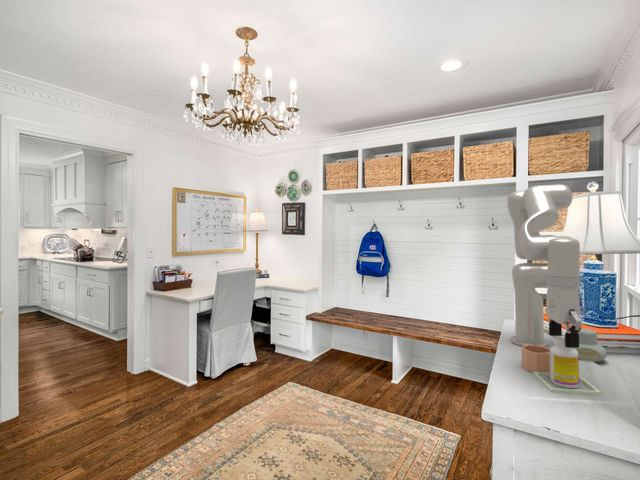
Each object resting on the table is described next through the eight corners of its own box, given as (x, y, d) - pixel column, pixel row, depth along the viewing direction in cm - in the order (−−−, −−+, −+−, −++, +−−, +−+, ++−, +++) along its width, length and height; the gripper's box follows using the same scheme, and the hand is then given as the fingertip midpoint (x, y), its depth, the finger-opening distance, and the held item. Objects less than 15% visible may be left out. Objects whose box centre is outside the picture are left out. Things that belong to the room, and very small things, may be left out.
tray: (533, 376, 106) (533, 371, 106) (577, 379, 103) (577, 373, 103) (550, 395, 94) (550, 389, 94) (601, 398, 91) (601, 392, 91)
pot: (517, 365, 115) (517, 344, 115) (546, 366, 113) (546, 345, 113) (527, 375, 107) (526, 352, 107) (559, 377, 105) (558, 354, 105)
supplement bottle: (584, 390, 95) (583, 343, 95) (557, 388, 96) (556, 342, 96) (571, 380, 101) (571, 336, 101) (546, 378, 103) (545, 335, 103)
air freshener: (566, 360, 118) (566, 331, 118) (566, 353, 125) (566, 325, 125) (608, 366, 112) (607, 335, 112) (605, 358, 119) (605, 329, 119)
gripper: (536, 276, 107) (536, 331, 108) (563, 287, 90) (563, 352, 91) (563, 276, 106) (563, 331, 107) (595, 287, 89) (595, 353, 90)
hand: (563, 341), depth 99 cm, fingers open, 9 cm apart
